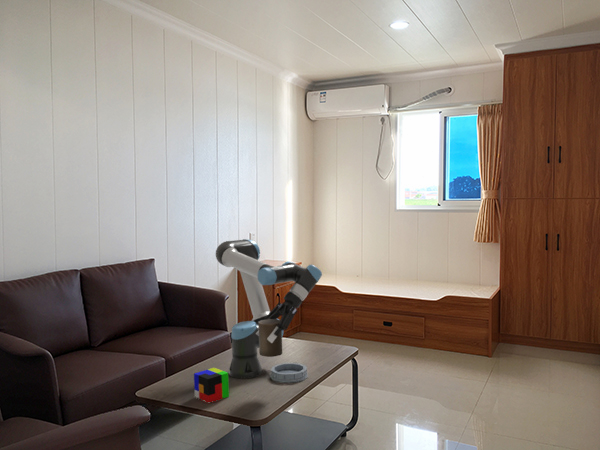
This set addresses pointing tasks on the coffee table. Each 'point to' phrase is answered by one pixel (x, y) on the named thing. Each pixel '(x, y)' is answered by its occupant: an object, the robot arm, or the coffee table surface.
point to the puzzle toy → (211, 384)
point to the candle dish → (289, 372)
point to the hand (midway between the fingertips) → (263, 338)
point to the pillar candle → (264, 332)
